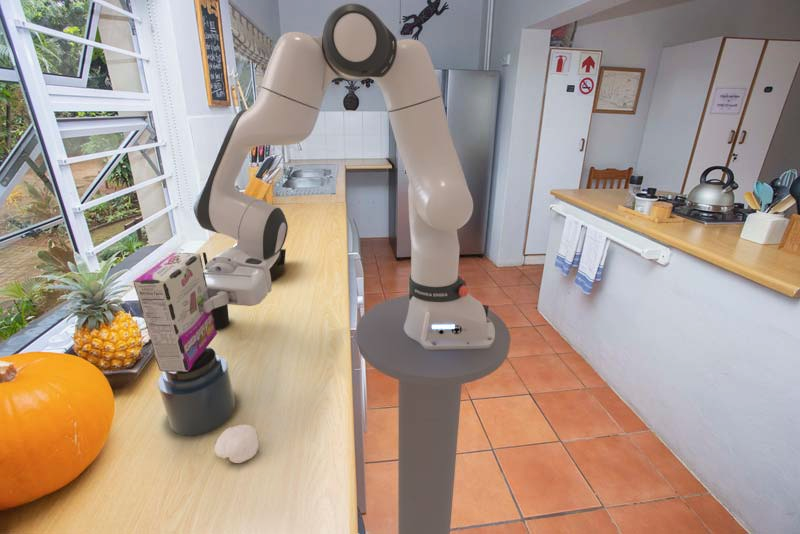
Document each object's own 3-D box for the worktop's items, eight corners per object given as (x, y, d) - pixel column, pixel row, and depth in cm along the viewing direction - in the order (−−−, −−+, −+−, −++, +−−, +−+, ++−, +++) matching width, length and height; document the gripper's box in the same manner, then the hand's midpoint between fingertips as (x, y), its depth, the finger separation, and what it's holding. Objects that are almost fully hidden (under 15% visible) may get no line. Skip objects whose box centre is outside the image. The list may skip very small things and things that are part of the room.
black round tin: (237, 288, 122) (234, 267, 119) (244, 264, 137) (242, 244, 134) (285, 285, 125) (283, 265, 122) (287, 261, 141) (285, 243, 137)
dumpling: (262, 438, 67) (262, 424, 65) (254, 467, 62) (254, 453, 60) (219, 435, 66) (218, 421, 63) (209, 465, 61) (207, 451, 59)
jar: (246, 395, 76) (236, 344, 71) (213, 439, 66) (199, 383, 61) (195, 389, 78) (182, 338, 73) (155, 431, 68) (137, 376, 63)
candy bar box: (190, 333, 72) (172, 251, 65) (217, 334, 72) (202, 252, 65) (156, 372, 61) (130, 279, 55) (188, 373, 62) (166, 280, 55)
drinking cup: (215, 335, 95) (198, 261, 88) (196, 327, 99) (179, 254, 91) (241, 322, 101) (228, 251, 94) (222, 314, 105) (208, 245, 97)
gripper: (179, 256, 78) (124, 286, 65) (275, 262, 75) (237, 294, 62) (186, 284, 80) (134, 318, 68) (279, 291, 77) (243, 328, 65)
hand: (184, 307), depth 65 cm, fingers closed on candy bar box, 5 cm apart
